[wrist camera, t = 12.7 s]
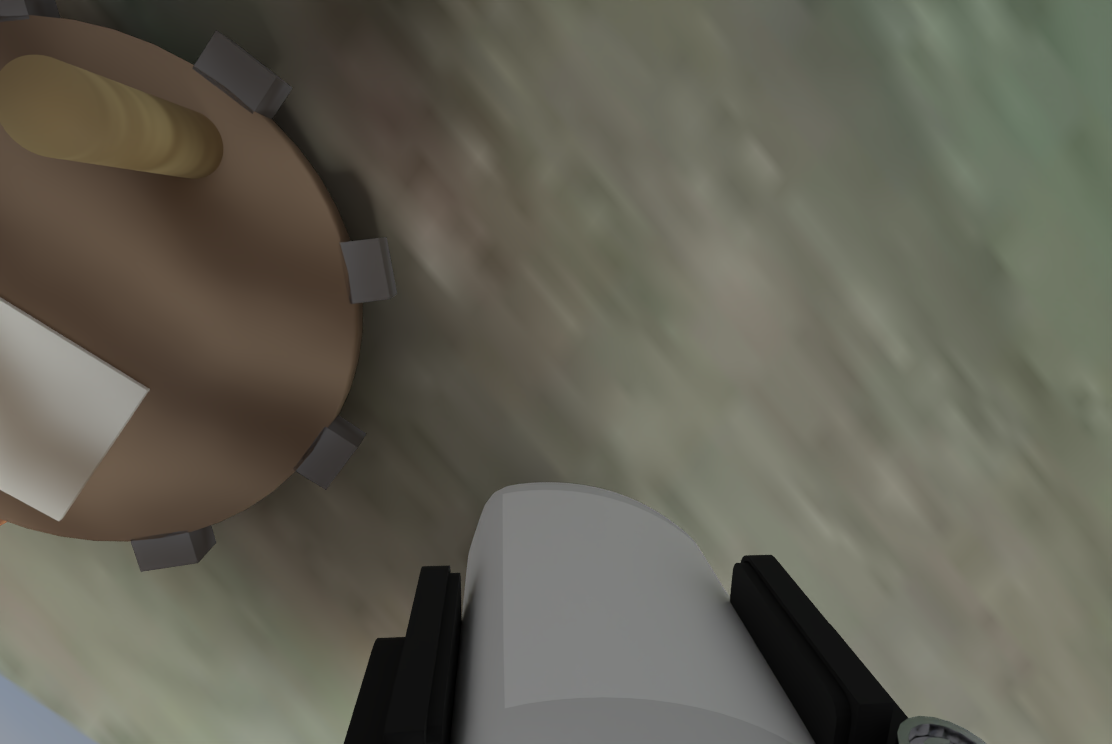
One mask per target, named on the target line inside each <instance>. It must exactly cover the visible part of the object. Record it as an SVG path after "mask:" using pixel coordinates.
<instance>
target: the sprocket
mask: <svg viewBox="0 0 1112 744" xmlns="http://www.w3.org/2000/svg"><path fill="white" fill-rule="evenodd" d="M291 90H292V87H291V86H290V85H288V84H287V83H286V82H285V81H283V80H282V79H281V78H279V77H278V76H277V75H276V74H274V73H273V72H272V71H271V70H269V69H268V68H267V67H265V66H264V65H263V64H262V63H260V62H259V61H258V60H256V59H255V58H254V57H253V56H251V55H250V54H249V53H247V52H246V51H245V50H244V49H242V48H241V47H240V46H239V45H237V44H236V43H234V42H233V41H231V40H230V39H229V38H227V37H226V36H224V35H223V34H221V33H220V32H218V31H217V30H216V31H215V33H214V34H213V36H212V38H211V39H210V41H209V42H208V44H207V46H206V47H205V49H204V50H203V52H202V54H201V55H200V57H199V58H198V60H197V61H196V63H195V65H193V64H191V63H189V62H187V61H185V60H183V59H181V58H179V57H177V56H175V55H173V54H171V53H170V52H168V51H166V50H164V49H162V48H160V47H158V46H156V45H154V44H151V43H149V42H146V41H143V40H141V39H138V38H135V37H133V36H130V35H127V34H125V33H122V32H119V31H117V30H114V29H110V28H106V27H102V26H97V25H93V24H89V23H85V22H81V21H77V20H71V19H62V18H60V15H59V12H58V8H57V5H56V2H55V0H0V526H1V525H2V524H4V523H6V522H10V523H13V524H16V525H19V526H22V527H25V528H28V529H32V530H36V531H40V532H45V533H49V534H53V535H57V536H62V537H70V538H78V539H85V540H93V541H131V544H132V547H133V550H134V553H135V556H136V559H137V562H138V565H139V568H140V570H141V572H142V571H149V570H155V569H162V568H169V567H175V566H182V565H188V564H195V563H198V562H199V561H200V560H201V559H202V558H203V557H204V556H205V555H206V553H207V552H208V551H209V550H210V549H211V548H212V547H213V546H214V545H215V543H216V540H215V536H214V533H213V530H212V526H211V525H213V524H216V523H219V522H221V521H223V520H225V519H227V518H229V517H231V516H233V515H235V514H238V513H240V512H242V511H244V510H246V509H248V508H249V507H251V506H252V505H254V504H255V503H257V502H258V501H260V500H261V499H263V498H264V497H266V496H267V495H269V494H270V493H272V492H273V491H274V490H275V489H276V488H277V487H279V486H280V485H281V484H282V483H283V482H284V481H285V480H286V479H288V478H289V477H290V476H291V475H292V474H293V473H294V472H295V471H296V472H298V473H299V474H301V475H303V476H304V477H306V478H307V479H309V480H311V481H312V482H314V483H316V484H317V485H319V486H320V487H322V488H324V489H325V490H326V489H327V488H328V486H329V485H330V484H331V482H332V481H333V480H334V478H335V477H336V476H337V474H338V473H339V472H340V470H341V469H342V468H343V466H344V465H345V464H346V462H347V461H348V460H349V458H350V457H351V456H352V454H353V453H354V452H355V450H356V449H357V448H358V446H359V445H360V443H361V442H362V440H363V438H364V437H365V435H366V433H365V432H363V431H362V430H360V429H359V428H357V427H356V426H354V425H353V424H351V423H350V422H348V421H346V420H345V419H343V418H342V417H340V416H339V413H340V411H341V409H342V406H343V404H344V402H345V400H346V397H347V395H348V393H349V391H350V388H351V385H352V382H353V378H354V375H355V371H356V368H357V364H358V361H359V354H360V347H361V340H362V333H363V302H370V301H378V300H386V299H391V298H392V297H394V296H395V295H397V290H396V284H395V279H394V274H393V268H392V263H391V258H390V252H389V247H388V242H387V237H382V238H374V239H365V240H357V241H350V238H349V235H348V233H347V230H346V228H345V225H344V223H343V220H342V218H341V216H340V213H339V211H338V208H337V206H336V205H335V203H334V201H333V199H332V197H331V196H330V194H329V192H328V190H327V189H326V187H325V185H324V183H323V181H322V180H321V178H320V176H319V175H318V174H317V172H316V171H315V170H314V168H313V167H312V165H311V164H310V163H309V161H308V160H307V159H306V157H305V156H304V154H303V153H302V152H301V150H300V149H299V148H298V147H297V146H296V145H295V143H294V142H293V141H292V140H291V139H290V138H289V137H288V136H287V135H286V134H285V133H284V132H283V131H282V129H281V128H280V127H279V126H278V125H277V124H276V123H275V122H274V121H273V120H272V119H273V117H274V115H275V114H276V112H277V111H278V109H279V108H280V106H281V105H282V103H283V102H284V100H285V99H286V97H287V96H288V94H289V93H290V91H291Z"/></svg>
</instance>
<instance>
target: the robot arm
mask: <svg viewBox="0 0 1112 744" xmlns="http://www.w3.org/2000/svg"><path fill="white" fill-rule="evenodd" d="M730 603H731V604H732V606H733V608H734V609H735V611H736V613H737V614H738V616H739V617H740V619H741V621H742V622H743V624H744V626H745V627H746V629H747V631H748V632H749V634H750V636H751V637H752V639H753V641H754V642H755V644H756V646H757V647H758V649H759V650H760V652H761V654H762V655H763V657H764V659H765V660H766V662H767V664H768V665H769V667H770V669H771V670H772V672H773V674H774V675H775V677H776V678H777V680H778V682H779V683H780V685H781V687H782V688H783V690H784V692H785V693H786V695H787V697H788V698H789V700H790V702H791V703H792V705H793V707H794V708H795V710H796V711H797V713H798V715H799V717H800V718H801V720H802V722H803V723H804V725H805V727H806V728H807V730H808V732H809V734H810V735H811V737H812V739H813V740H814V742H815V744H986V743H985V742H984V741H983V740H982V739H980V738H979V737H977V736H975V735H974V734H972V733H971V732H969V731H968V730H966V729H964V728H962V727H960V726H958V725H956V724H953V723H951V722H949V721H945V720H942V719H938V718H935V717H925V716H917V717H912V718H908V717H907V716H906V715H905V714H904V712H903V711H902V710H901V709H900V708H899V706H898V705H897V704H896V703H895V701H894V700H893V699H892V698H891V697H890V695H889V694H888V693H887V692H886V691H885V689H884V688H883V687H882V686H881V685H880V683H879V682H878V681H877V680H876V679H875V677H874V676H873V675H872V674H871V673H870V671H869V670H868V669H867V668H866V666H865V665H864V664H863V663H862V662H861V660H860V659H859V658H858V657H857V656H856V654H855V653H854V652H853V651H852V650H851V648H850V647H849V646H848V645H847V644H846V642H845V641H844V640H843V639H842V637H841V636H840V635H839V634H838V633H837V631H836V630H835V629H834V628H833V627H832V625H831V624H829V623H828V621H827V620H826V619H825V618H824V617H823V615H822V614H821V613H820V612H819V611H818V609H817V608H816V607H815V606H814V604H813V603H812V602H811V601H810V600H809V598H808V597H807V596H806V595H805V594H804V592H803V591H802V590H801V589H800V588H799V586H798V585H797V584H796V583H795V581H794V580H793V579H792V578H791V577H790V575H789V574H788V573H787V572H786V571H785V569H784V568H783V567H782V566H781V565H780V563H779V562H778V561H777V560H776V558H775V557H773V556H772V555H749V556H744V557H743V558H742V560H741V563H736V564H735V565H734V568H733V575H732V585H731V594H730ZM461 623H462V618H461V576H460V573H450V566H424V567H422V568H421V572H420V576H419V580H418V585H417V589H416V594H415V598H414V602H413V607H412V611H411V615H410V620H409V624H408V628H407V633H406V637H395V638H377V639H376V641H375V643H374V646H373V649H372V652H371V655H370V658H369V662H368V665H367V668H366V672H365V675H364V678H363V682H362V685H361V688H360V692H359V695H358V698H357V702H356V705H355V708H354V712H353V715H352V718H351V721H350V725H349V728H348V731H347V735H346V738H345V741H344V744H450V736H451V726H452V716H453V705H454V695H455V685H456V674H457V664H458V653H459V643H460V633H461Z"/></svg>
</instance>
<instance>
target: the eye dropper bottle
mask: <svg viewBox="0 0 1112 744" xmlns="http://www.w3.org/2000/svg"><path fill="white" fill-rule="evenodd" d="M450 744H815V742H814V740H813V739H812V737H811V735H810V734H809V732H808V730H807V728H806V727H805V725H804V723H803V722H802V720H801V718H800V717H799V715H798V713H797V711H796V710H795V708H794V707H793V705H792V703H791V702H790V700H789V698H788V697H787V695H786V693H785V692H784V690H783V688H782V687H781V685H780V683H779V682H778V680H777V678H776V677H775V675H774V674H773V672H772V670H771V669H770V667H769V665H768V664H767V662H766V660H765V659H764V657H763V655H762V654H761V652H760V650H759V649H758V647H757V646H756V644H755V642H754V641H753V639H752V637H751V636H750V634H749V632H748V631H747V629H746V627H745V626H744V624H743V622H742V621H741V619H740V617H739V616H738V614H737V613H736V611H735V609H734V608H733V606H732V604H731V603H730V596H729V595H728V593H727V592H726V590H725V588H724V587H723V585H722V584H721V582H720V580H719V579H718V577H717V575H716V574H715V572H714V571H713V569H712V567H711V566H710V564H709V563H708V561H707V559H706V558H705V556H704V554H703V553H702V551H701V550H700V548H699V546H698V545H697V544H696V542H695V541H694V540H693V539H692V538H691V537H690V536H689V535H688V534H687V533H686V532H685V531H684V530H683V529H681V528H680V527H679V526H677V525H676V524H675V523H674V522H672V521H671V520H669V519H668V518H666V517H665V516H664V515H662V514H660V513H659V512H657V511H655V510H654V509H652V508H650V507H648V506H647V505H645V504H643V503H641V502H639V501H636V500H634V499H632V498H630V497H627V496H624V495H622V494H619V493H616V492H613V491H609V490H606V489H602V488H598V487H593V486H588V485H581V484H574V483H561V482H535V483H523V484H516V485H510V486H506V487H504V488H502V489H500V490H498V491H496V492H494V493H493V494H492V496H491V497H490V498H489V500H488V501H487V502H486V504H485V506H484V508H483V511H482V514H481V516H480V519H479V522H478V525H477V528H476V531H475V534H474V537H473V540H472V544H471V547H470V550H469V555H468V562H467V572H466V581H465V591H464V601H463V611H462V623H461V633H460V643H459V653H458V664H457V674H456V685H455V695H454V705H453V716H452V726H451V736H450Z"/></svg>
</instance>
